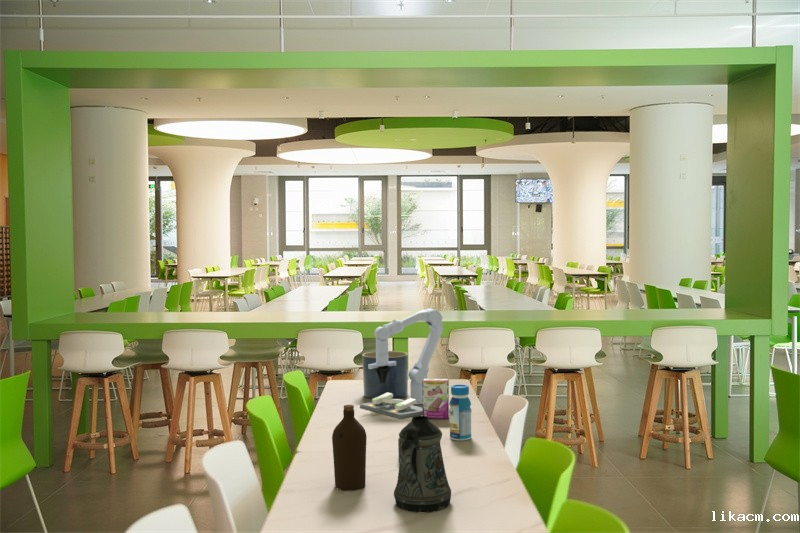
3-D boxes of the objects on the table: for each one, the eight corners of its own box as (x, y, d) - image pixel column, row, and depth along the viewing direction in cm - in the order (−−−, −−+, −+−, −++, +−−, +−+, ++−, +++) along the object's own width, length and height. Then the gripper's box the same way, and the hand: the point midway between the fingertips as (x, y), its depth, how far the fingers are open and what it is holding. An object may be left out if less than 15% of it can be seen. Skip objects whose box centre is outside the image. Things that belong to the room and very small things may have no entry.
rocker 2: (398, 402, 352) (399, 398, 352) (404, 404, 349) (404, 400, 349) (383, 401, 347) (383, 397, 347) (388, 403, 343) (389, 399, 344)
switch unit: (388, 402, 365) (388, 396, 365) (429, 412, 341) (429, 406, 341) (360, 407, 355) (360, 401, 355) (400, 418, 331) (400, 412, 331)
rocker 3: (411, 401, 345) (410, 397, 345) (416, 402, 342) (416, 398, 342) (395, 408, 340) (394, 405, 340) (401, 410, 337) (400, 406, 337)
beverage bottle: (470, 441, 292) (469, 388, 291) (448, 440, 294) (447, 387, 293) (473, 435, 300) (472, 384, 300) (451, 435, 302) (450, 383, 301)
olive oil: (368, 490, 237) (366, 408, 236) (333, 492, 236) (331, 410, 235) (366, 479, 248) (364, 401, 247) (332, 481, 247) (331, 402, 246)
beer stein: (448, 493, 233) (447, 410, 233) (455, 516, 214) (454, 425, 213) (393, 494, 233) (391, 411, 232) (395, 517, 214) (393, 427, 213)
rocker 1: (388, 395, 359) (387, 391, 359) (393, 396, 356) (392, 393, 355) (372, 403, 354) (371, 399, 353) (377, 404, 350) (377, 400, 350)
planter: (356, 398, 374) (355, 357, 373) (371, 390, 395) (370, 350, 394) (401, 400, 367) (400, 358, 367) (413, 391, 389) (413, 351, 388)
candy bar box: (422, 419, 329) (421, 380, 329) (423, 416, 334) (422, 378, 334) (449, 419, 328) (448, 380, 328) (449, 416, 333) (448, 378, 333)
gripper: (389, 350, 365) (390, 379, 365) (364, 354, 356) (364, 383, 356) (398, 352, 359) (399, 381, 359) (373, 355, 350) (373, 385, 351)
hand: (382, 382), depth 357 cm, fingers closed
